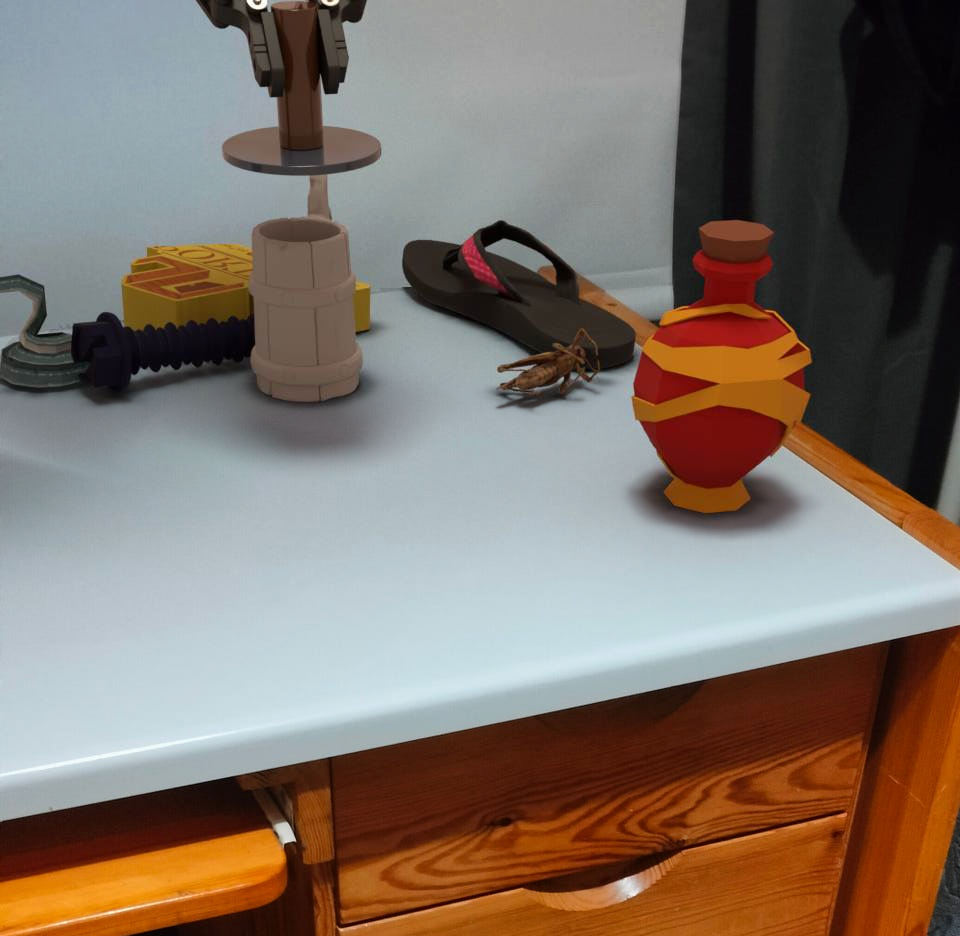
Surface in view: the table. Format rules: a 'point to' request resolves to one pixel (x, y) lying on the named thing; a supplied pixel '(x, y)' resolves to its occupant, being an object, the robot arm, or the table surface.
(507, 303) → the sandal
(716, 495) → the potion bottle
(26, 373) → the stylized snake
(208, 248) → the decorative sign
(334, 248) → the mug
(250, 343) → the screw
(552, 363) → the insect
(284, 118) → the lid
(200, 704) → the table surface
